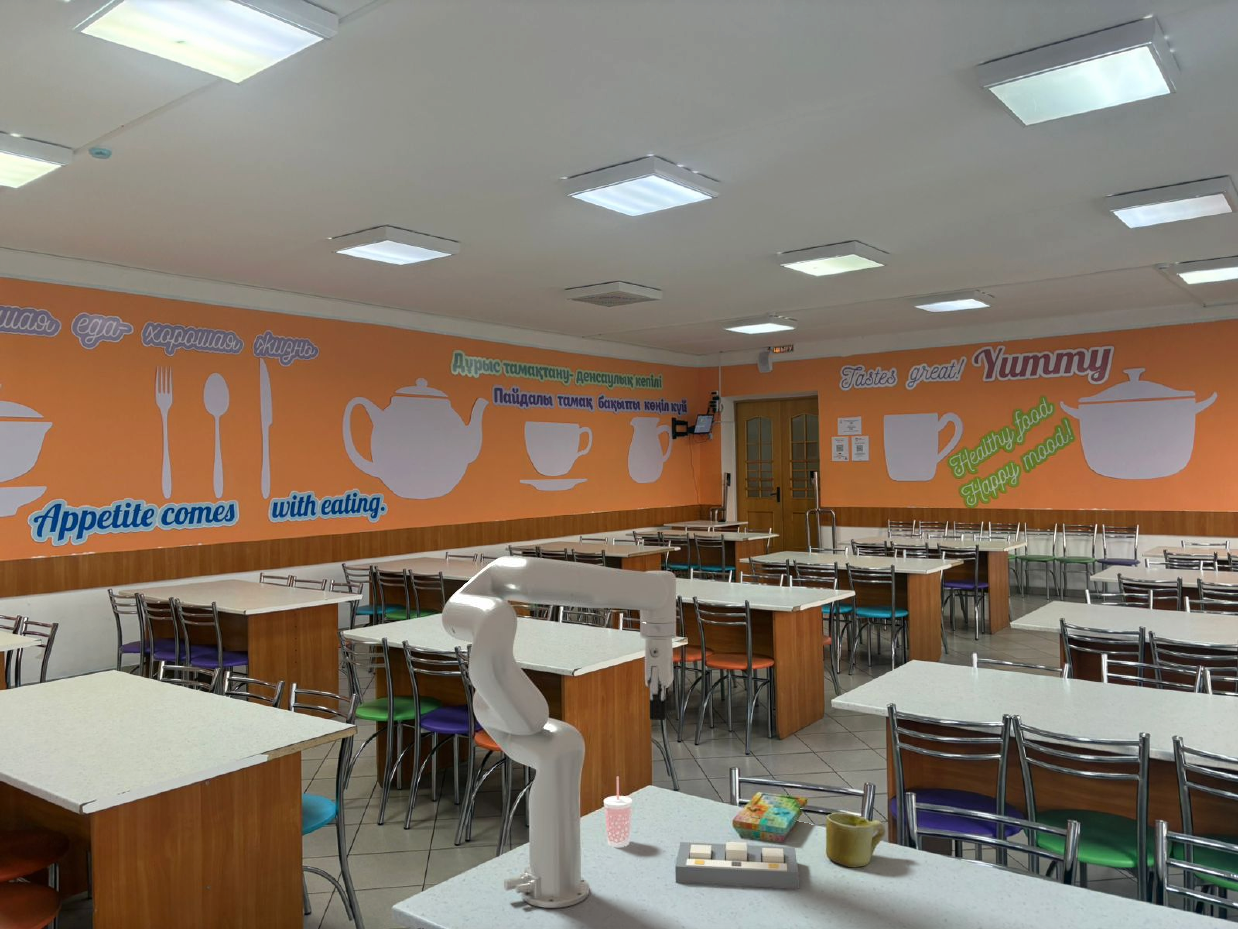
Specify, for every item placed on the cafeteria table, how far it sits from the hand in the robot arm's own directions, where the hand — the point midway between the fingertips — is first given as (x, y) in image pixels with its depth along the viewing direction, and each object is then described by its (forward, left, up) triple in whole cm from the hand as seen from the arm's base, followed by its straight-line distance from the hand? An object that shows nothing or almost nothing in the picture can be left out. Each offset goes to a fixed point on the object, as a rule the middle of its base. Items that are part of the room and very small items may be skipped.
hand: (658, 718), depth 181 cm
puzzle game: (+30, +2, -28) cm, 41 cm away
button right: (+14, -19, -26) cm, 36 cm away
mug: (+34, -21, -28) cm, 49 cm away
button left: (+3, -11, -26) cm, 29 cm away
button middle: (+9, -15, -25) cm, 31 cm away
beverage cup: (-5, +9, -28) cm, 29 cm away
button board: (+9, -15, -27) cm, 33 cm away
